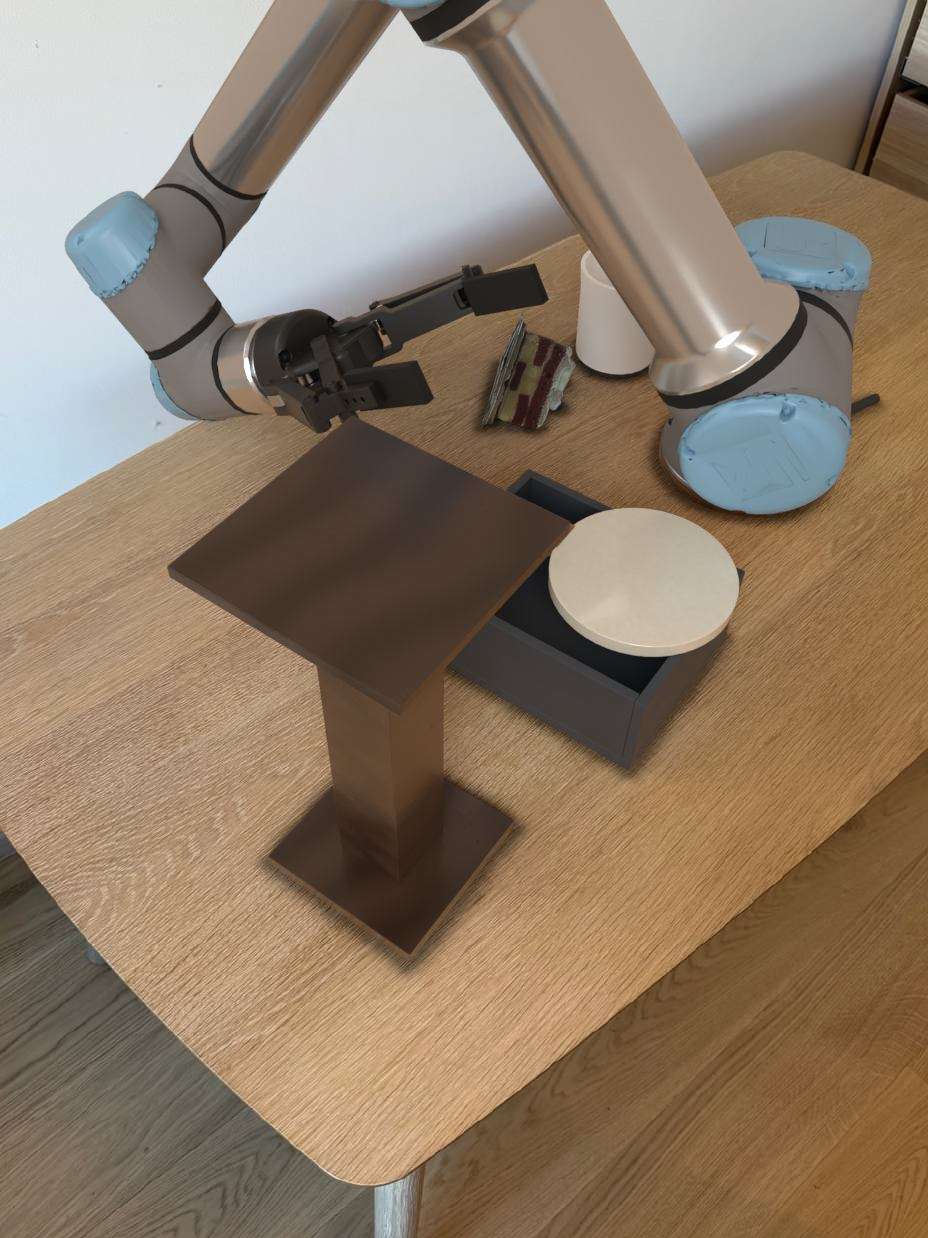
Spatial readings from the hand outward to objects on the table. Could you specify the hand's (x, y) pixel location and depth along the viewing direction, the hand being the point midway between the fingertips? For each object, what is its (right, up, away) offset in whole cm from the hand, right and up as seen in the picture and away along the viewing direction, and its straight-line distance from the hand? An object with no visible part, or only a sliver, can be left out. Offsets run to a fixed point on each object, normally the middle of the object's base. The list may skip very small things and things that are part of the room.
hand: (484, 330), depth 72 cm
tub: (+7, -21, +16) cm, 27 cm away
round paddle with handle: (+8, -14, +11) cm, 20 cm away
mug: (+14, +9, +42) cm, 45 cm away
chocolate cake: (+5, +2, +36) cm, 37 cm away
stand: (-6, -35, +4) cm, 36 cm away
